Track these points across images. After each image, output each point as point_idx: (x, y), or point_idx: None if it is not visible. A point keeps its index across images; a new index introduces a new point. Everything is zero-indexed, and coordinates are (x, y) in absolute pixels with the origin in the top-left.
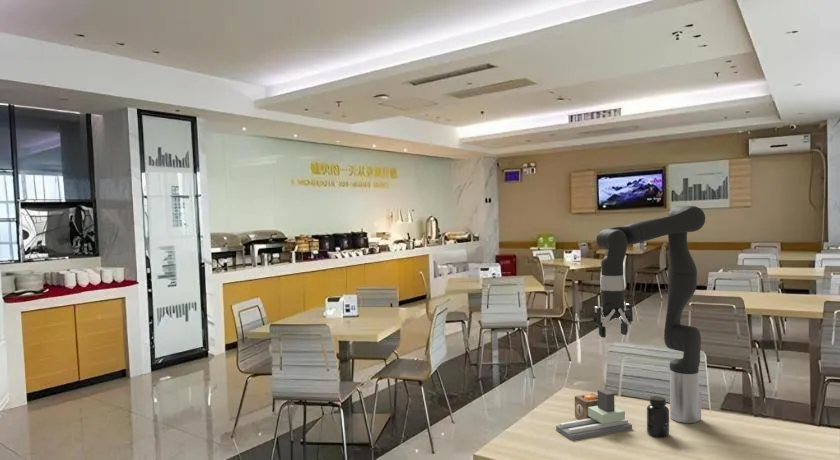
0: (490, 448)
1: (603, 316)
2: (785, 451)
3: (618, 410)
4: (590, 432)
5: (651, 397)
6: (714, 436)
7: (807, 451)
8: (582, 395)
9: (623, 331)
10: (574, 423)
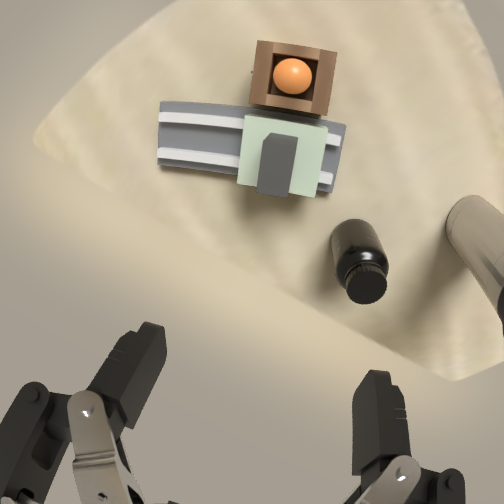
0: (38, 132)
1: (108, 495)
2: (425, 365)
3: (304, 183)
4: (206, 170)
5: (359, 276)
6: (420, 300)
7: (441, 373)
8: (286, 48)
9: (361, 407)
10: (195, 123)
